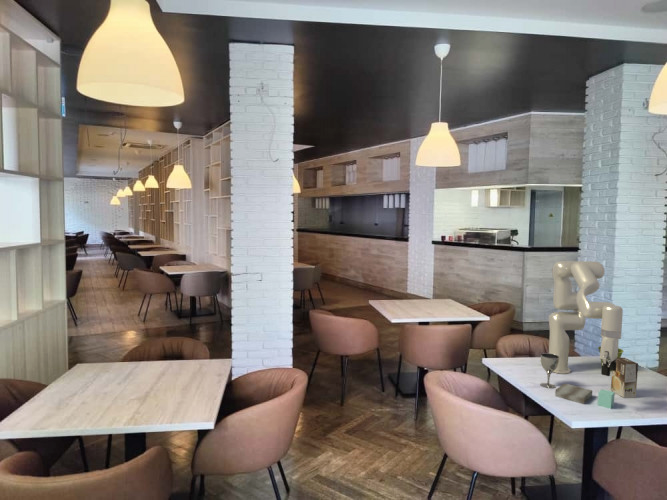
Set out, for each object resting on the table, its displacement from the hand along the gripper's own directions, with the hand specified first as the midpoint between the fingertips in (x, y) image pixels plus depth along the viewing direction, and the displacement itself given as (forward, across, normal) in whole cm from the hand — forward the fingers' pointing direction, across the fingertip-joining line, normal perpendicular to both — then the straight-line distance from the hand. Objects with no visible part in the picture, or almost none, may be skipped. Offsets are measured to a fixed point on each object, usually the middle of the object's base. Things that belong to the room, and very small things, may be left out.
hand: (608, 372), depth 196 cm
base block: (+15, 0, -14) cm, 20 cm away
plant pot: (+14, -56, -12) cm, 60 cm away
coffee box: (+15, -22, +2) cm, 26 cm away
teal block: (+15, 0, 0) cm, 15 cm away
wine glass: (+15, -6, -26) cm, 31 cm away
